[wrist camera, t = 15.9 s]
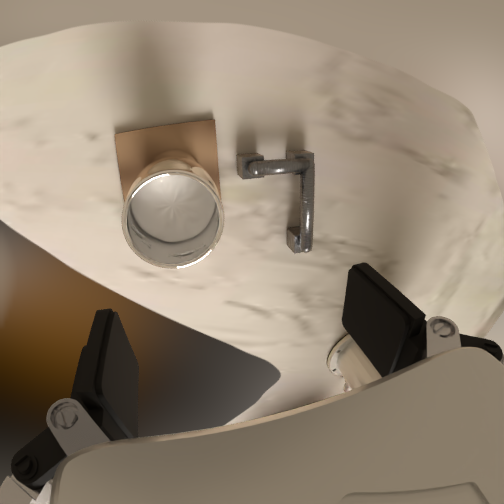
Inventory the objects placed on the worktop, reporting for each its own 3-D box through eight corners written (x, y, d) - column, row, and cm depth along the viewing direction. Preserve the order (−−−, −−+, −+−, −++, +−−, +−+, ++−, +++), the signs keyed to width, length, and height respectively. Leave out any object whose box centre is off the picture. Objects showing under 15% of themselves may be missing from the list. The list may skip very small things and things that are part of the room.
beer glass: (181, 217, 33) (189, 288, 20) (130, 186, 30) (99, 239, 17) (217, 168, 31) (249, 206, 18) (165, 133, 28) (156, 144, 15)
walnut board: (221, 211, 35) (222, 214, 34) (130, 226, 32) (129, 228, 32) (213, 119, 30) (214, 119, 29) (116, 134, 27) (114, 134, 27)
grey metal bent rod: (303, 242, 39) (316, 256, 36) (242, 251, 38) (251, 267, 34) (304, 150, 34) (320, 155, 30) (236, 154, 32) (245, 159, 28)
